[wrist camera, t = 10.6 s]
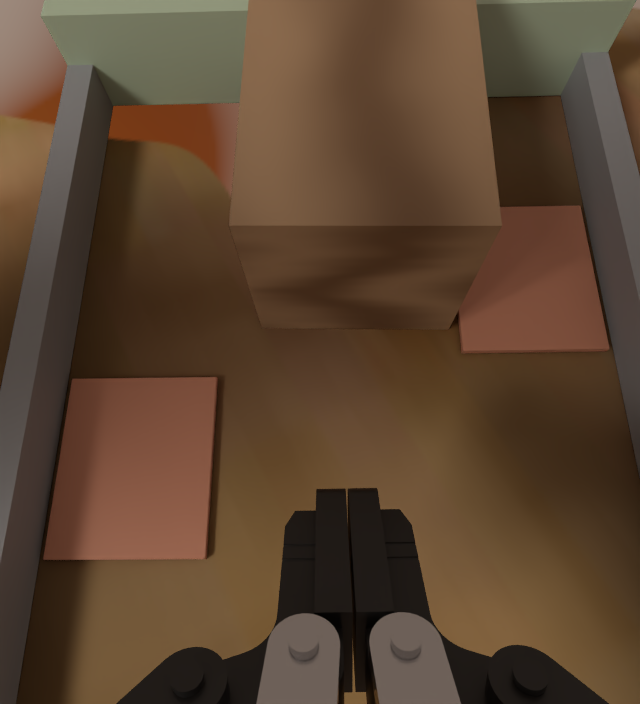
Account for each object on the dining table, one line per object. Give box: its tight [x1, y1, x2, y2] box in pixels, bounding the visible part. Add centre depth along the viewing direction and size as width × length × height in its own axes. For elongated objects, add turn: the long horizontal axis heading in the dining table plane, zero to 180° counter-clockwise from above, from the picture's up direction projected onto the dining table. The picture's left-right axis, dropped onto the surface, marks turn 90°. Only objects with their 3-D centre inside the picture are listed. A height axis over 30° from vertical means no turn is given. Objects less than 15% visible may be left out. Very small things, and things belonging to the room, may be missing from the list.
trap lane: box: [0, 0, 640, 704], centre depth 20 cm, size 25×33×5 cm
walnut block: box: [229, 0, 502, 330], centre depth 22 cm, size 8×12×8 cm, turn 179°
